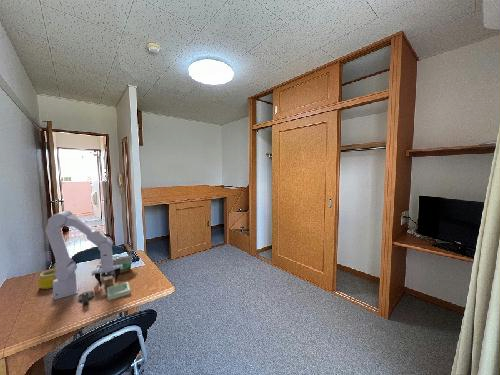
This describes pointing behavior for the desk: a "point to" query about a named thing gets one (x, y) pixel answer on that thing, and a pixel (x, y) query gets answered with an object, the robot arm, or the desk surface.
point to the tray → (118, 291)
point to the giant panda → (104, 272)
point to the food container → (124, 264)
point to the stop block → (108, 281)
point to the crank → (85, 297)
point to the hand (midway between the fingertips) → (108, 283)
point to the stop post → (96, 289)
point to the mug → (47, 279)
